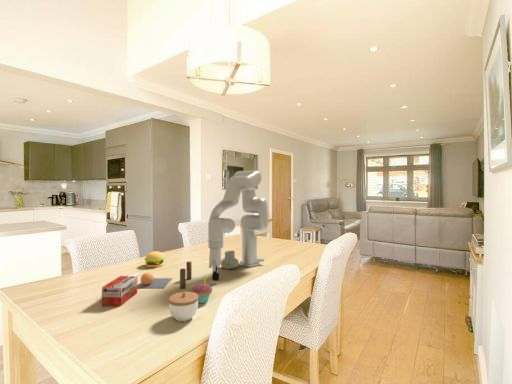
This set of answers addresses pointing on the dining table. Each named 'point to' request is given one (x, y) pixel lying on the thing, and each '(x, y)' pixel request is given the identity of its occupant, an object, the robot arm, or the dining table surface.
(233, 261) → the air freshener
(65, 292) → the dining table surface
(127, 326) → the dining table surface
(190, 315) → the lidded jar
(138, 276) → the stopper wall
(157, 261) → the hamburger
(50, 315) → the dining table surface
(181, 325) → the dining table surface
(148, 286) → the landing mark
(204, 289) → the cupcake
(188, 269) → the post
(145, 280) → the ball
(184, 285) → the post
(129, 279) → the medicine box
